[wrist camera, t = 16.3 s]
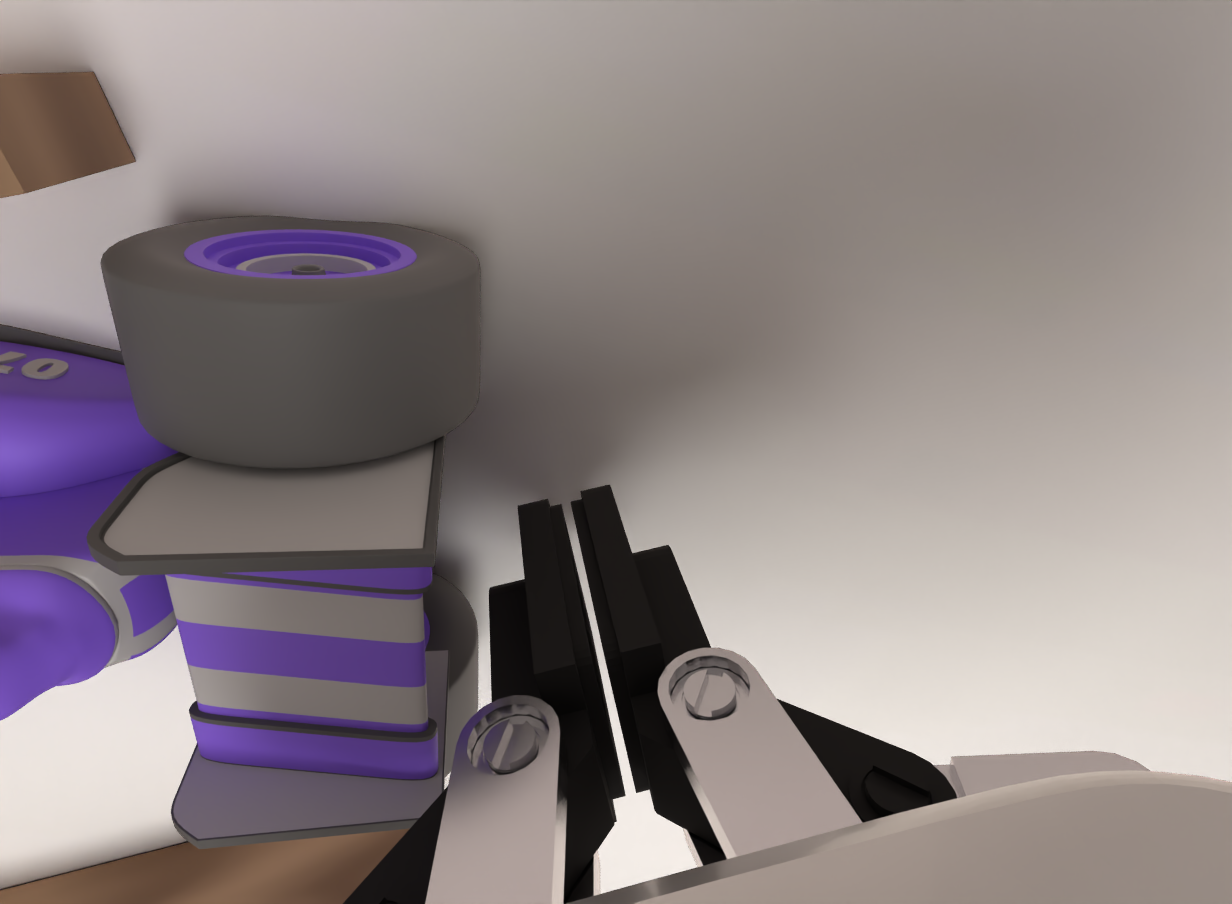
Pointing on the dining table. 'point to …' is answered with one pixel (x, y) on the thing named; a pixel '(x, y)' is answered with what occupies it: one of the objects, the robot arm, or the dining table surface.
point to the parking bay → (183, 874)
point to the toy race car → (255, 512)
